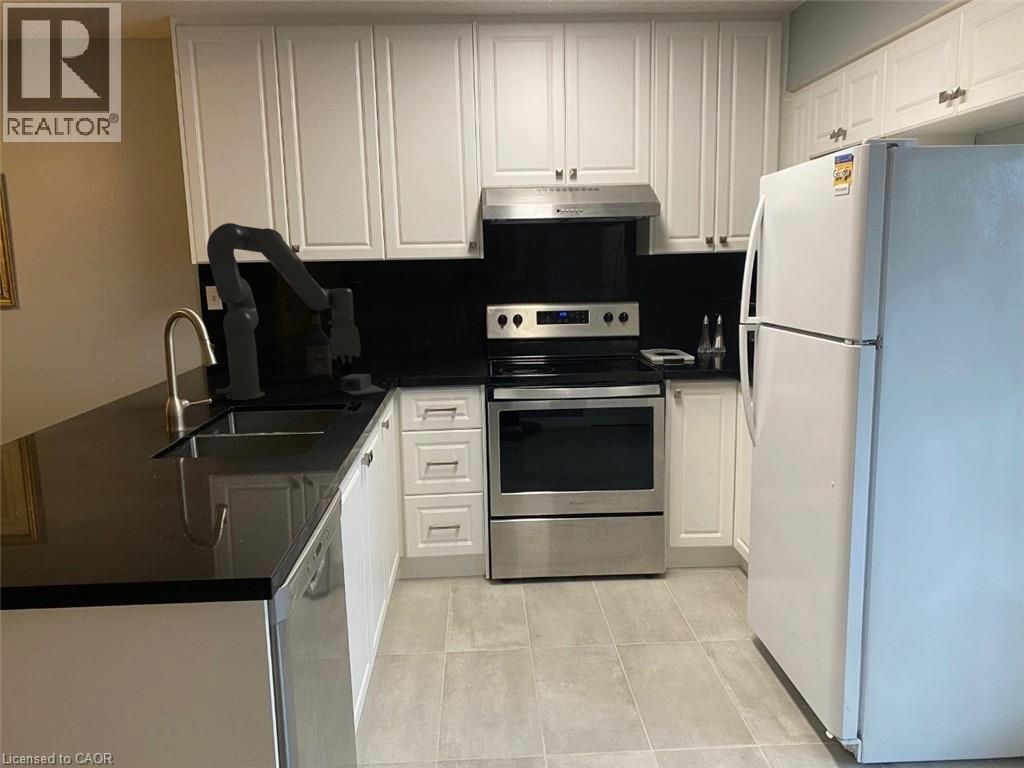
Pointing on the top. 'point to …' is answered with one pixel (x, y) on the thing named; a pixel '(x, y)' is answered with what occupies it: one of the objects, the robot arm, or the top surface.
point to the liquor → (318, 352)
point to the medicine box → (356, 381)
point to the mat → (365, 390)
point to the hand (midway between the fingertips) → (346, 374)
